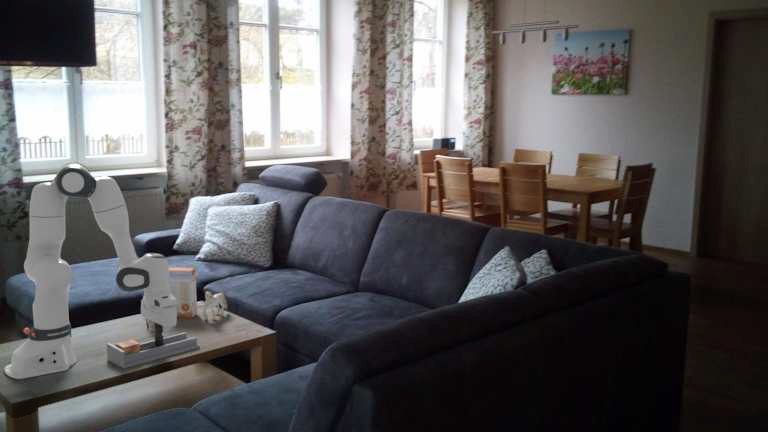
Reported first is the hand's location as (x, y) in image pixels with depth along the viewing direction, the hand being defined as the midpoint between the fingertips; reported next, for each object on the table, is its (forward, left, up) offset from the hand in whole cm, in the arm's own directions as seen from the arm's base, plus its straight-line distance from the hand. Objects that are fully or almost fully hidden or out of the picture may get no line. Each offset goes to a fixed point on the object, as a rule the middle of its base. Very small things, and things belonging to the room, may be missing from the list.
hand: (158, 333), depth 257 cm
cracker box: (+28, +35, -7) cm, 45 cm away
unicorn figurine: (+38, +19, -7) cm, 43 cm away
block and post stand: (-7, 0, -6) cm, 9 cm away
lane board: (-2, 0, -7) cm, 7 cm away
